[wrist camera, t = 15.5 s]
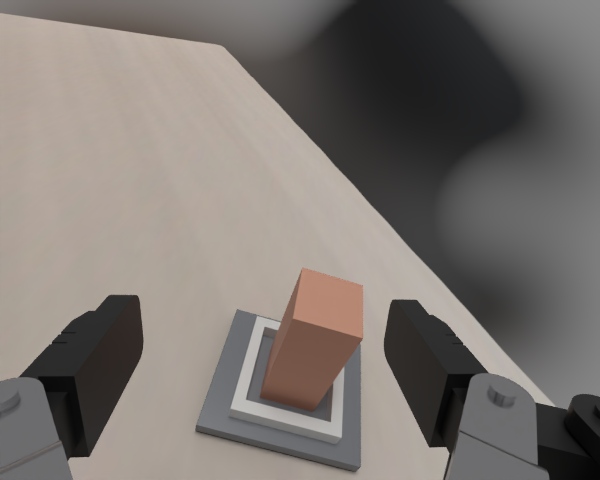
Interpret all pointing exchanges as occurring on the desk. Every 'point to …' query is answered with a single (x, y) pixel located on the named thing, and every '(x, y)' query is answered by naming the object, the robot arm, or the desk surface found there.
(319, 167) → the desk surface
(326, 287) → the column
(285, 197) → the desk surface
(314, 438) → the baseplate
